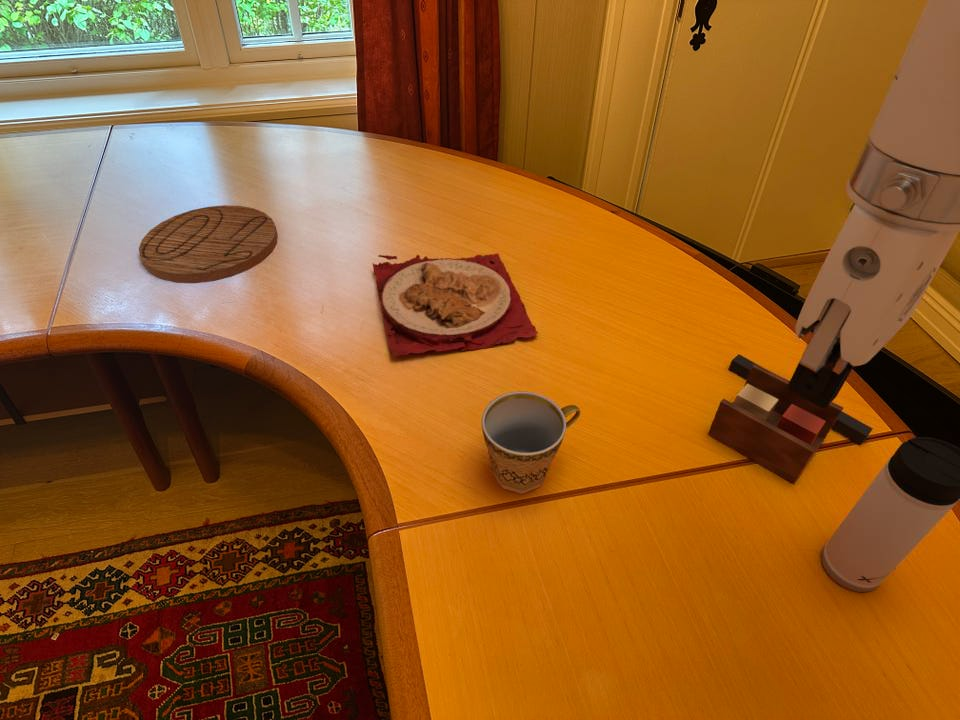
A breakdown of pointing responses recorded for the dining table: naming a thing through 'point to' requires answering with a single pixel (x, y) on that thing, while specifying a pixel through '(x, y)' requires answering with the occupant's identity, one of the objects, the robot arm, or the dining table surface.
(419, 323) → the plate with food
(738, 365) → the edge rail
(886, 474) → the travel mug
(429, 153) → the dining table surface
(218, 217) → the trivet
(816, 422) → the open wooden box
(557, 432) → the ceramic cup
